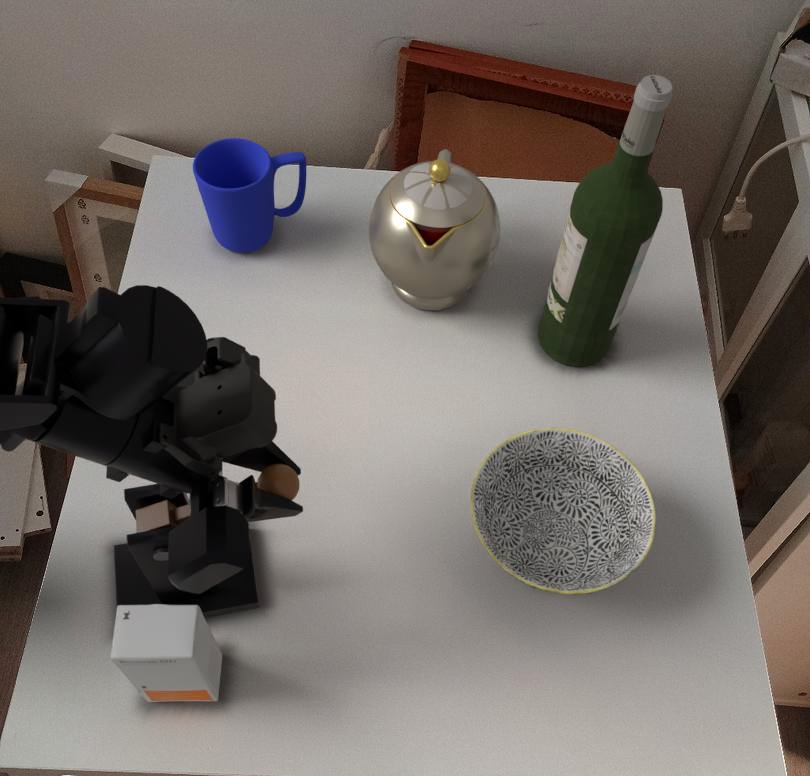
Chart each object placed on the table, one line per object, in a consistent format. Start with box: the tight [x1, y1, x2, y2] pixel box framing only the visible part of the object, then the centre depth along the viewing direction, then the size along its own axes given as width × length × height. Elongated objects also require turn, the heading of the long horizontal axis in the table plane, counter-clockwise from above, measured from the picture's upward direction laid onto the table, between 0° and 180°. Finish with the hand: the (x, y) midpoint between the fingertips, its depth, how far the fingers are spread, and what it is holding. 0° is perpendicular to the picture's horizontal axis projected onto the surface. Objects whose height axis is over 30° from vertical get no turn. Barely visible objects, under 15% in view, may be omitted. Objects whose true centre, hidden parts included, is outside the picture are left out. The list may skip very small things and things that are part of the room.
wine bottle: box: [537, 74, 673, 368], centre depth 76 cm, size 8×8×30 cm
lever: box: [135, 464, 301, 533], centre depth 64 cm, size 13×3×3 cm, turn 102°
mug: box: [192, 137, 308, 254], centre depth 91 cm, size 8×12×10 cm
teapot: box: [368, 148, 501, 311], centre depth 86 cm, size 18×14×16 cm
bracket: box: [113, 483, 261, 618], centre depth 69 cm, size 12×8×13 cm, turn 102°
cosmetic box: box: [110, 604, 223, 703], centre depth 65 cm, size 6×4×12 cm
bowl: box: [470, 427, 657, 595], centre depth 74 cm, size 16×16×8 cm
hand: (298, 492), depth 65 cm, fingers closed on lever, 3 cm apart
